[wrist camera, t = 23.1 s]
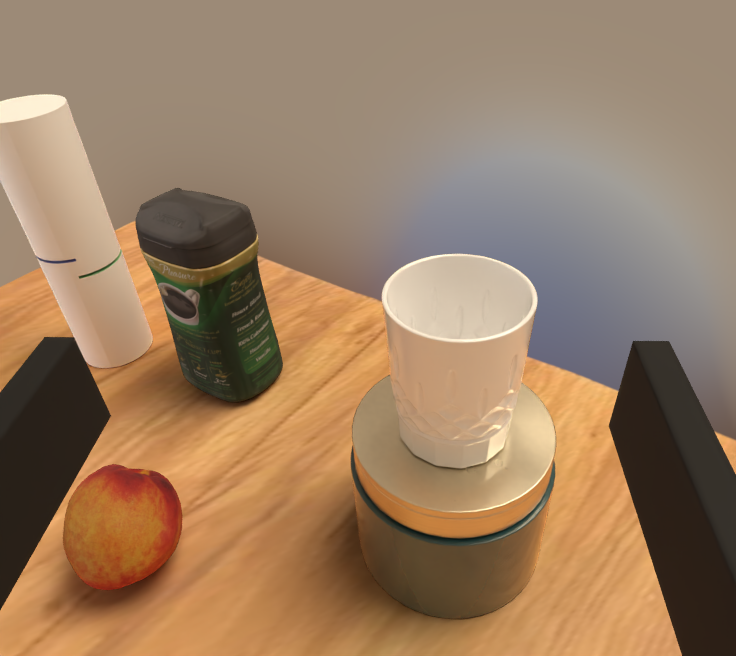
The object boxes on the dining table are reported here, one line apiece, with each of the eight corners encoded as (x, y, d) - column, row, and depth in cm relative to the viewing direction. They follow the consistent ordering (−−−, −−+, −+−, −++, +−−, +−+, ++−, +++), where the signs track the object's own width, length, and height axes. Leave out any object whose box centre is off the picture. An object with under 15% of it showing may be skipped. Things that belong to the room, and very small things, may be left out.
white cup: (485, 371, 40) (496, 243, 34) (542, 458, 34) (567, 321, 28) (374, 397, 39) (364, 268, 33) (412, 493, 33) (409, 357, 27)
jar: (326, 516, 45) (309, 421, 39) (454, 435, 50) (459, 340, 44) (437, 661, 36) (440, 570, 30) (578, 545, 42) (606, 447, 35)
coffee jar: (297, 366, 59) (267, 193, 47) (242, 416, 54) (193, 236, 42) (228, 335, 63) (185, 171, 52) (171, 379, 58) (109, 207, 47)
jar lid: (318, 440, 40) (314, 414, 38) (458, 362, 45) (459, 337, 43) (440, 581, 31) (441, 555, 30) (593, 466, 37) (601, 439, 35)
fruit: (219, 545, 44) (193, 476, 39) (123, 633, 39) (79, 567, 34) (157, 491, 48) (126, 423, 43) (63, 565, 43) (17, 498, 38)
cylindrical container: (92, 329, 66) (-10, 99, 50) (157, 321, 66) (76, 90, 51) (75, 372, 60) (-45, 127, 45) (147, 362, 61) (52, 117, 45)
